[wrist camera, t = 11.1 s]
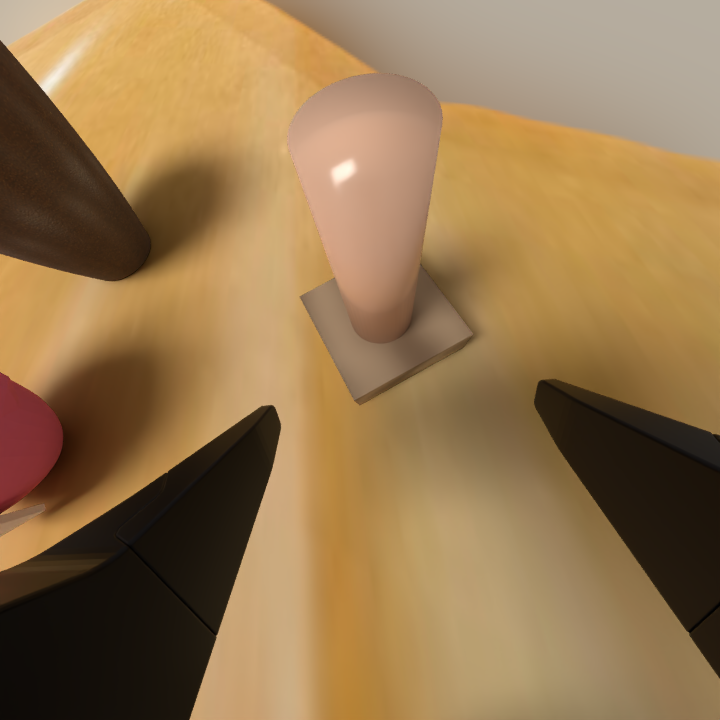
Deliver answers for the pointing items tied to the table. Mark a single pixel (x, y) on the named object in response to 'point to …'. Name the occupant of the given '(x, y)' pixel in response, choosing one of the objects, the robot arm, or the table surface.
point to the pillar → (370, 190)
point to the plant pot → (58, 189)
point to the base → (393, 359)
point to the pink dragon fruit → (24, 449)
